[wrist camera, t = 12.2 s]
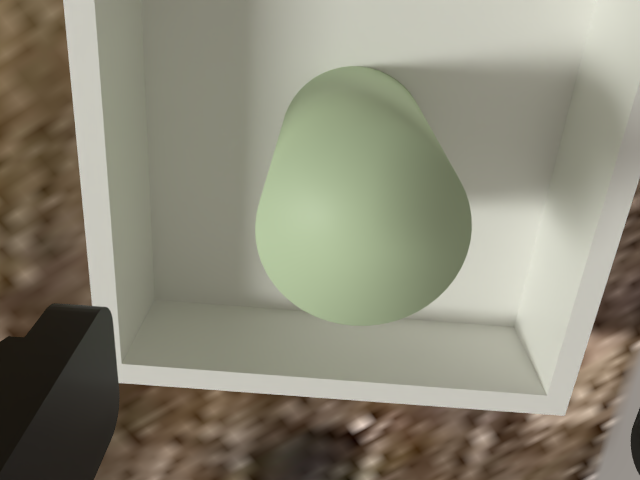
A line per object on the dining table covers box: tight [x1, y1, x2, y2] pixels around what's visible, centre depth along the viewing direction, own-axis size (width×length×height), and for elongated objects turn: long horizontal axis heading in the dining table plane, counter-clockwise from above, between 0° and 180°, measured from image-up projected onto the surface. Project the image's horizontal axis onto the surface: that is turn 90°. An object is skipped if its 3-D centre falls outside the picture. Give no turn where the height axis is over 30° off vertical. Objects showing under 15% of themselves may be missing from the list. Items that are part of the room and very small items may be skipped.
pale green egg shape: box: [255, 66, 472, 326], centre depth 18 cm, size 5×5×8 cm
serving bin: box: [63, 0, 640, 416], centre depth 20 cm, size 16×16×5 cm
